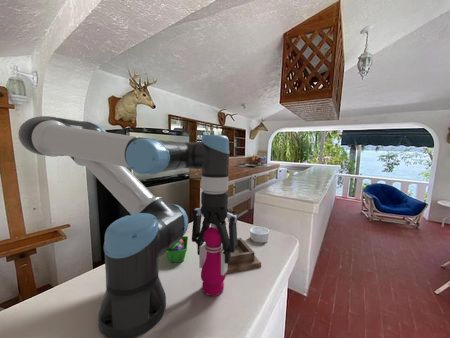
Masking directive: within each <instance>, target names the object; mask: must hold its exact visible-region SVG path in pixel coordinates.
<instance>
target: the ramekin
mask: <svg viewBox="0 0 450 338" xmlns="http://www.w3.org/2000/svg"><path fill="white" fill-rule="evenodd" d="M249 232H250V239H251V241H253V242H254V243H258V242H259V244H261V243H266V242H268V240H269V233H270V230H269V229H268V228H267V227H264V226H252V227H251V228H249Z"/></svg>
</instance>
